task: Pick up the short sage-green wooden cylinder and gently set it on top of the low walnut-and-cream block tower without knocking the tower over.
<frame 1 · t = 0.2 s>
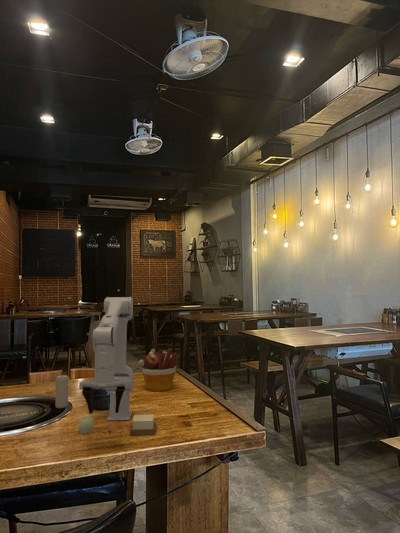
hand: (104, 412, 119), 10 cm above the table, tool pointing down, fingers open, 7 cm apart
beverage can: (61, 407, 158), on the table
base block: (143, 433, 130), on the table, touching top block
green cylinder: (85, 431, 130), on the table
top block: (143, 425, 130), point 2 cm above the table, touching base block
bucket of meat: (159, 389, 185), on the table
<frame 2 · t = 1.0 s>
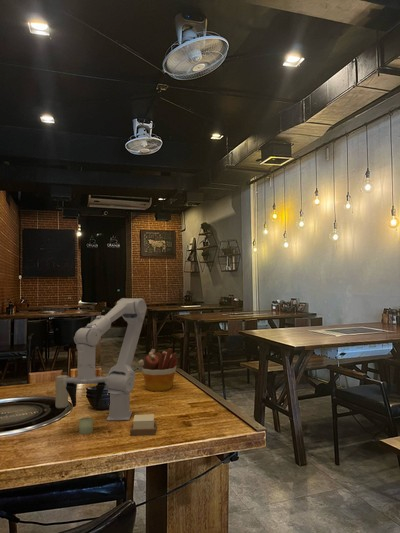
hand: (86, 406, 130), 8 cm above the table, tool pointing down, fingers open, 7 cm apart
nothing on the table moved.
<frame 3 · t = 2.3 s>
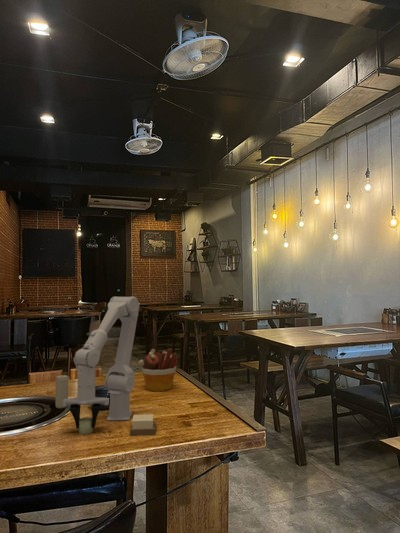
hand: (85, 427, 130), 1 cm above the table, tool pointing down, fingers closed on green cylinder, 4 cm apart
base block: (143, 432, 130), on the table
green cylinder: (85, 431, 130), on the table, touching gripper
top block: (143, 425, 130), point 2 cm above the table
everything else where it was.
when the fingers open (7 cm above the table, at t = 6.2 s): green cylinder drops 1 cm, point 4 cm above the table.
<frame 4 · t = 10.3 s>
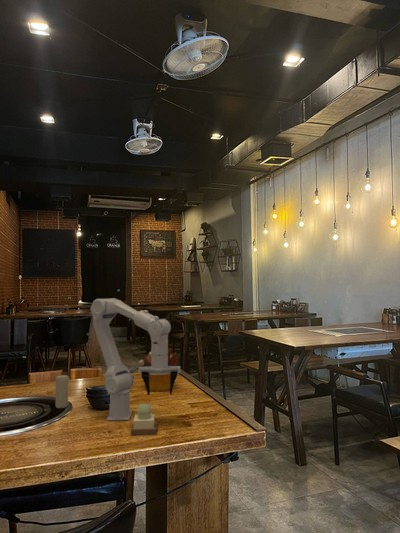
hand: (159, 393, 137), 10 cm above the table, tool pointing down, fingers open, 7 cm apart
base block: (144, 433, 130), on the table, touching top block
green cylinder: (144, 417, 131), point 4 cm above the table
top block: (144, 425, 130), point 2 cm above the table, touching base block
everything else where it was.
at the end: green cylinder 0.0 cm off-centre on the top block, point 2.5 cm above the top block's base; top block 0.1 cm off-centre on the base block, point 2.5 cm above the base block's base; green cylinder tilted 1° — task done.
